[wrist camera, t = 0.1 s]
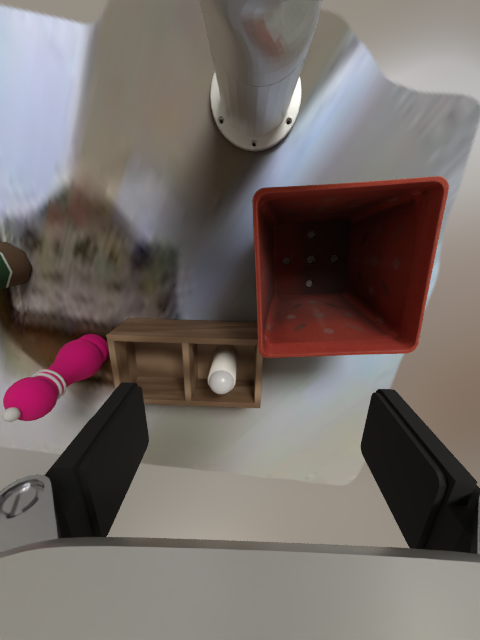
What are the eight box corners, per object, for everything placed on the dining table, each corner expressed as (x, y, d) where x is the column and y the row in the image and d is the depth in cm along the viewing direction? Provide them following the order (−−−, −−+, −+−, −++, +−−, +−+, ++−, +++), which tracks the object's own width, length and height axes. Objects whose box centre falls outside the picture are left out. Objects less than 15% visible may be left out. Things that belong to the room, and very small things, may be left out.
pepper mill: (72, 355, 52) (-28, 429, 33) (80, 325, 50) (-21, 386, 31) (107, 369, 53) (29, 449, 34) (117, 340, 50) (39, 408, 32)
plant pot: (254, 315, 48) (258, 359, 32) (250, 202, 42) (252, 188, 26) (360, 310, 47) (417, 353, 31) (372, 194, 41) (452, 174, 25)
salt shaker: (214, 343, 49) (205, 375, 39) (237, 344, 49) (235, 376, 39) (214, 364, 51) (206, 400, 40) (237, 365, 50) (234, 401, 40)
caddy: (128, 318, 49) (106, 335, 41) (261, 322, 48) (264, 339, 41) (136, 378, 53) (117, 403, 46) (258, 382, 53) (260, 408, 45)
